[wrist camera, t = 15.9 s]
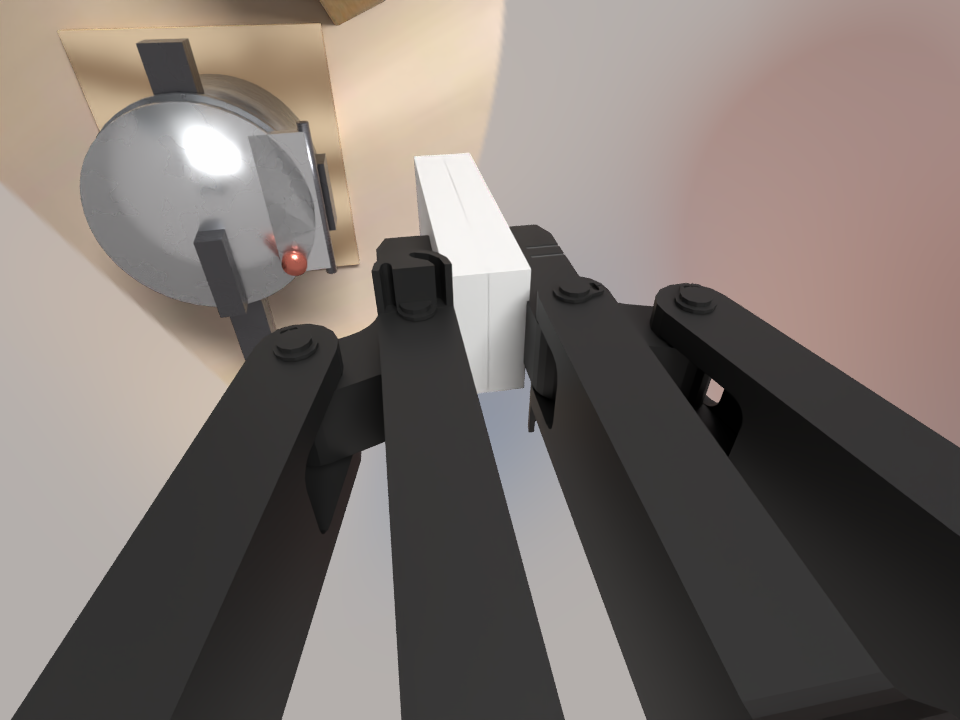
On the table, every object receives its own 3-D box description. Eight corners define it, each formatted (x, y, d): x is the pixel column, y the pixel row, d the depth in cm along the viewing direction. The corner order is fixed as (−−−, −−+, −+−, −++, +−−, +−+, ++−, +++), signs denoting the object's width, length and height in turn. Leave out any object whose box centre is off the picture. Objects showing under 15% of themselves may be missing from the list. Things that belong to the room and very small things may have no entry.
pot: (81, 28, 37) (18, 48, 30) (310, 22, 40) (300, 39, 33) (195, 314, 52) (170, 371, 45) (357, 299, 54) (358, 351, 47)
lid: (38, 107, 31) (20, 119, 29) (303, 92, 34) (302, 101, 32) (137, 313, 40) (128, 332, 38) (340, 286, 43) (342, 303, 41)
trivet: (60, 29, 38) (57, 31, 37) (320, 22, 40) (320, 24, 40) (165, 278, 50) (163, 281, 50) (359, 261, 53) (359, 264, 52)
